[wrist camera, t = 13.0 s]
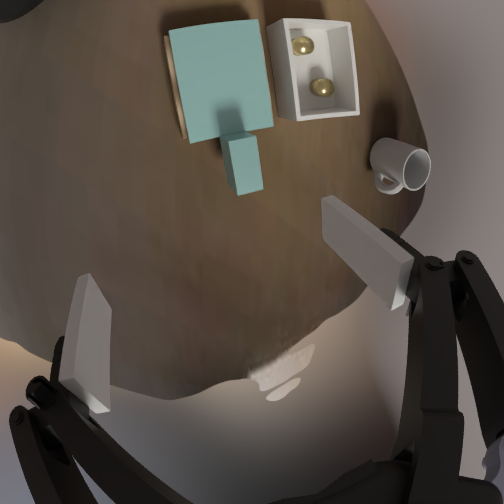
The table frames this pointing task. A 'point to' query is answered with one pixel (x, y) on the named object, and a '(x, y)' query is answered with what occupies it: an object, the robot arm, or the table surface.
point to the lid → (225, 93)
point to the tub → (313, 68)
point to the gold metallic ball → (302, 45)
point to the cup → (399, 165)
